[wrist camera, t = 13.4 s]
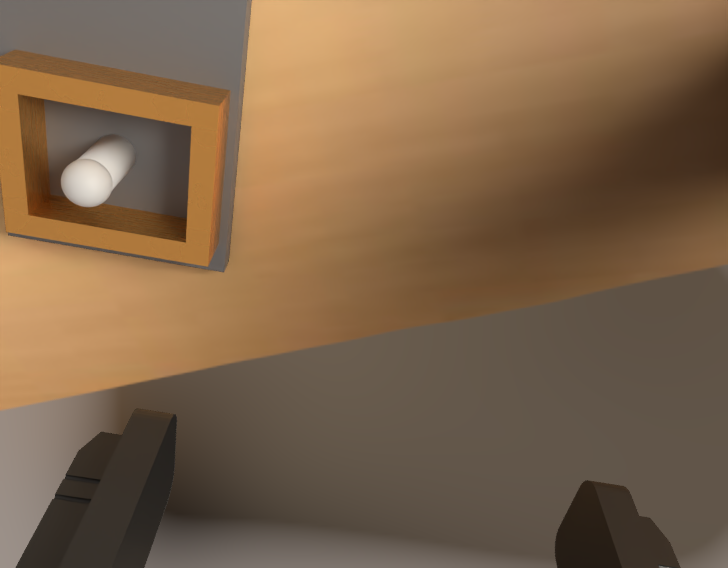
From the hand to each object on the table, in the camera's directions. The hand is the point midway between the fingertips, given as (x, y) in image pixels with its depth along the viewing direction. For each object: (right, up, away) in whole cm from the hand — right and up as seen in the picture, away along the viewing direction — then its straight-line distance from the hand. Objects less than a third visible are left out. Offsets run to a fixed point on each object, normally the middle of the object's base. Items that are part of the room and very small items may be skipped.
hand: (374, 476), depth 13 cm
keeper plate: (-15, +14, +27) cm, 34 cm away
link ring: (-15, +12, +27) cm, 33 cm away
